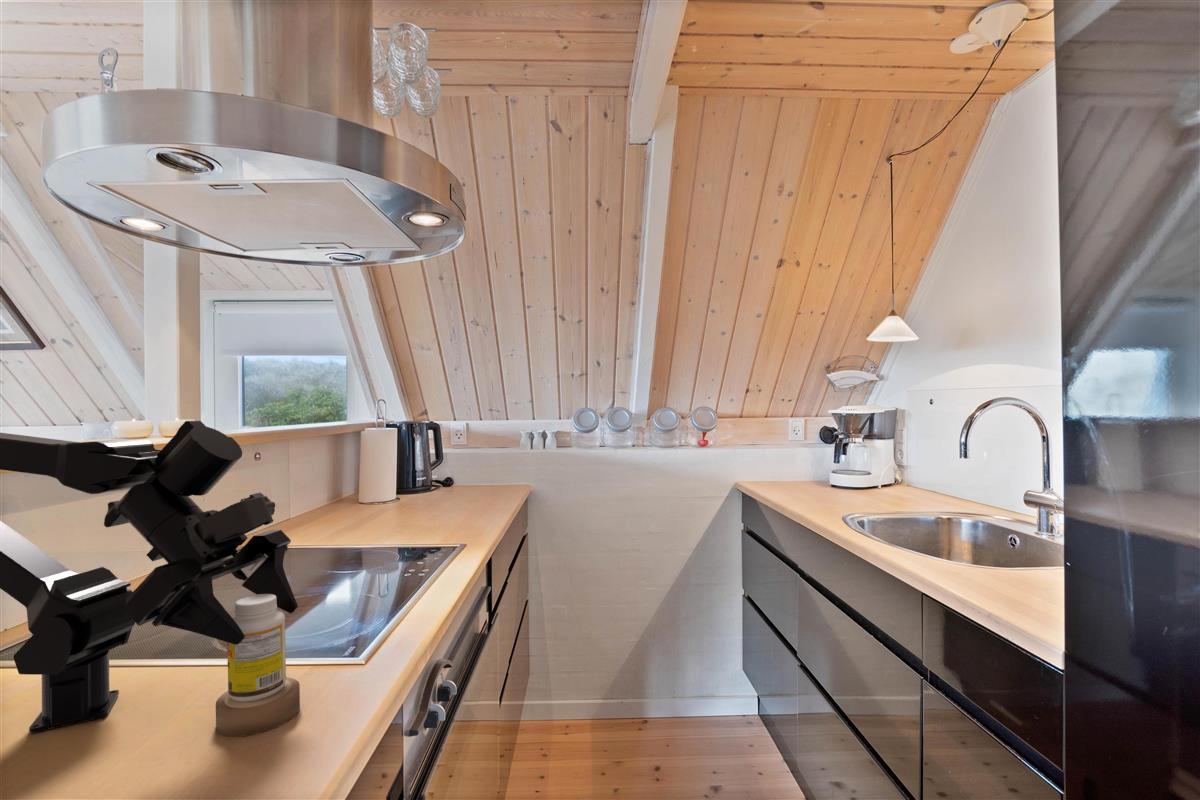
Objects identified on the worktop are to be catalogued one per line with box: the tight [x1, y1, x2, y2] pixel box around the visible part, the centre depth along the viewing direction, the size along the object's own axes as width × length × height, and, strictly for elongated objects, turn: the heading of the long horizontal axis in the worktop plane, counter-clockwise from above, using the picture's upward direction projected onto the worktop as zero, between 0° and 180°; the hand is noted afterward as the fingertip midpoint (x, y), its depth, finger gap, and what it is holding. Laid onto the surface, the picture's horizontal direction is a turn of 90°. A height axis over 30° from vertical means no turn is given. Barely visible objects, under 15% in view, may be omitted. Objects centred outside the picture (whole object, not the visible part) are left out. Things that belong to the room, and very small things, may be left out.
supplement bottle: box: [226, 594, 287, 702], centre depth 65 cm, size 6×6×10 cm
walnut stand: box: [215, 676, 301, 737], centre depth 65 cm, size 8×8×3 cm
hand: (269, 624), depth 65 cm, fingers open, 9 cm apart
